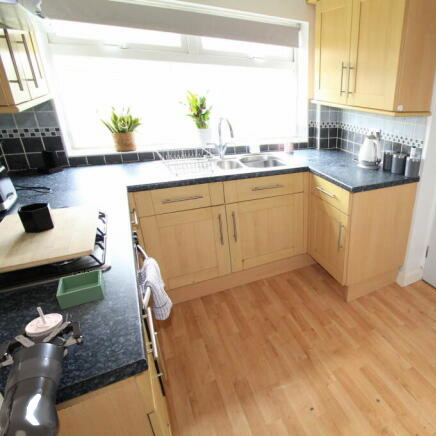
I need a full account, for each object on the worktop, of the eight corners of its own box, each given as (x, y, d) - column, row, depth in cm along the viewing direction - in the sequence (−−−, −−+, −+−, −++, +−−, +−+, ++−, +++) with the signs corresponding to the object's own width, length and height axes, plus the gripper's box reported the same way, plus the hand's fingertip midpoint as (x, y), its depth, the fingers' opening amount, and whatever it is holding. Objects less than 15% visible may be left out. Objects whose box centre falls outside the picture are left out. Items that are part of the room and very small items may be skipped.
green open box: (61, 309, 89) (56, 296, 88) (64, 290, 97) (59, 278, 95) (104, 297, 95) (100, 285, 93) (104, 280, 102) (100, 268, 100)
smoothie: (47, 371, 70) (25, 321, 65) (34, 359, 73) (11, 310, 67) (80, 351, 75) (62, 303, 70) (66, 341, 78) (48, 294, 73)
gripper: (77, 344, 62) (81, 298, 75) (-26, 377, 55) (-2, 320, 68) (87, 372, 65) (90, 323, 78) (-9, 407, 58) (11, 347, 71)
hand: (47, 322), depth 73 cm, fingers closed on smoothie, 6 cm apart
